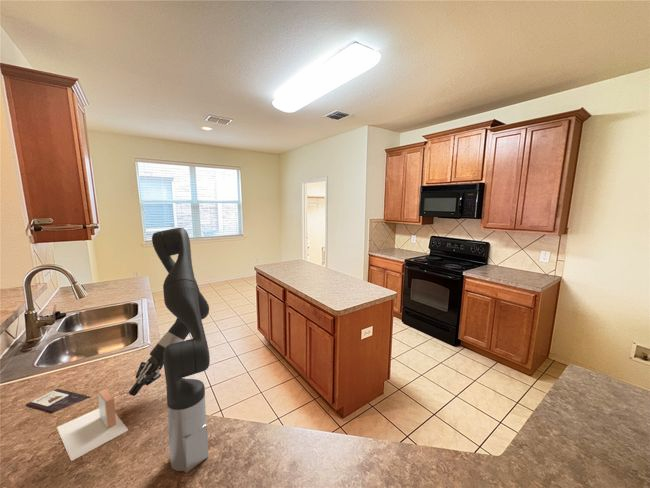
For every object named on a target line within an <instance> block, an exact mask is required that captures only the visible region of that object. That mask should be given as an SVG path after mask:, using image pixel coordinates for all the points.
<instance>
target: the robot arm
mask: <svg viewBox="0 0 650 488" xmlns="http://www.w3.org/2000/svg"><path fill="white" fill-rule="evenodd" d="M151 243H152V246H153V249H154V251H155V254H156V255H157V257H158V258H159V260H160V262H161V263H162V265H163V267H164V268H165V270H166V271H167V273H168V274H167V275H166V277H165V278H164V282H163V285H162V289H163V301H164V304H165V307H166V308H167V310H168V311H169V312H170V313H171V314H172V315H173V316H174V317H176V320H175V322H174V323H173V324H172V325H171V326H170V328H169V329H168V331H166V333H165V334H164V335H163V336H162V337H161V338H160V340H159V341H158V342H157V343H156V344H155V346H154V347H153V348H152V350H151V351H150V352H149V356H150V357H149V358H148V359H147V361H141V362H140V363H139V367H138V370H137V373H136V374H135V382H134V384H133V385H132V387H131V388H130V389H129V391H128V395H130V396H133V397H135V396H136V395H138V393H139V392H140V390H141V389H142V388H143V387H144V386H149V385H151V384H152V383H154V382H155V381H156V380H157V379H160V378H161V376H162V374H161V373H160V371H161V370H162V368H163V369H164V370H163V371H164V378H165V384H166V387H165V389H166V408H167V409H166V410H167V425H168V426H167V428H168V441H169V442H168V444H169V460H170V461H169V462H170V468H171V469H173V470H174V471H176V472H184V473H185V474H187V473H189V472H191V470H193V469H194V468H196V467H197V466H199V464H201V463H202V462H203V461H205V460H206V459H207V458H209V442H208V441H209V438H208V425H207V411H206V410H207V409H206V389H205V388H206V387H205V384H204V382H203V381H201V380H200V379H196V378H187V377H190V376H192V375H195V374H199V373H202V372H204V371H207V370H208V369H209V367H210V364H211V363H210V362H211V359H210V357H211V356H210V349H209V345H208V340H207V337H206V334H205V328H204V325H203V320H204V319H206V318H207V317H208V315H209V313H210V305H209V304H208V301H207V300H206V298H205V296H204V295H203V294H202V292H201V290H200V288H199V285H198V283H197V280H196V278H195V275H194V274H195V273H194V268H193V261H192V250H191V241H190V235H189V234H188V231H187V230H186V229H185V228H184V227H174V228H169V229H165V230H161V231H156V232H154V233H153V234H152V236H151ZM176 255H177V259H176V261H174V259H173V257H172V256H176ZM189 335H191V339H187V337H188V336H189ZM186 339H187V340H186Z"/></svg>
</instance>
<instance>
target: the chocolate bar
mask: <svg viewBox="0 0 650 488" xmlns="http://www.w3.org/2000/svg"><path fill="white" fill-rule="evenodd" d="M89 398H91V396H89V395H86V394H81V393H77V392H73V391H68V390H64V389H61V388H60V389H59V388H56V389H54V390H52V391H50V392H48V393H46V394H44V395H41V396H40V397H38V398H36V399H34V400H31V401H30V402H28V403H26V404H25V405H26V406H27V407H31V408H34V409H37V410H41V411H44V412H48V413H50V414H51V413H52V414H54V413H56V412H59V411H61V410H63V409H65V408H69V407H71V406H73V405H75V404H78V403H81V402H83V401H85V400H88V399H89Z"/></svg>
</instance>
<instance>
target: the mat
mask: <svg viewBox="0 0 650 488" xmlns="http://www.w3.org/2000/svg"><path fill="white" fill-rule="evenodd" d="M115 416H116V425H114V426H112V427H110V428H108V427H106V425H105V424H104V423H103V421H102V420H101V418H100V412H99V407H97V408H96V409H94V410H92V411H89V412H88V413H85V414H83V415H81V416H79V417H76V418H74V419H72V420H70V421H68V422H65V423H63V424H61V425H59V426H56V429H57V432H58V434H59V436H60V438H61V441H62V442H63V445H64V448H65V450H66V453H67V454H68V455H67V456H68V457H69V460H70V461H71V462H72V461H74V460H76V459H78V458H79V457H82V456H84V455H85V454H87V453H90V452H91V451H93V450H95V449H97V448H98V447H100V446H102V445H103V444H107V443H108V442H109V441H111V440H113V439H115V438H117V437H118V436H121V435H122V434H124V433H125V432H128V431H129V429H128V427H127V426H126V425H125V424H124V422H123V421H122V420H121V418H120V417H119V416H118V415H117V413H116V412H115Z"/></svg>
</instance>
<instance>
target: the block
mask: <svg viewBox="0 0 650 488" xmlns="http://www.w3.org/2000/svg"><path fill="white" fill-rule="evenodd" d="M97 397H98V399H97V400H98V408H99V412H100V418H101V420H102V421H103V423H104V424H105V425H106V427H108V428H110V427H112V426H114V425H116V416H115V413H116V405H115V397H114V396H113V395H112V393H110V391H109V390H108V389H107V388H105V389H101V390H100V391H98V393H97Z"/></svg>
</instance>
